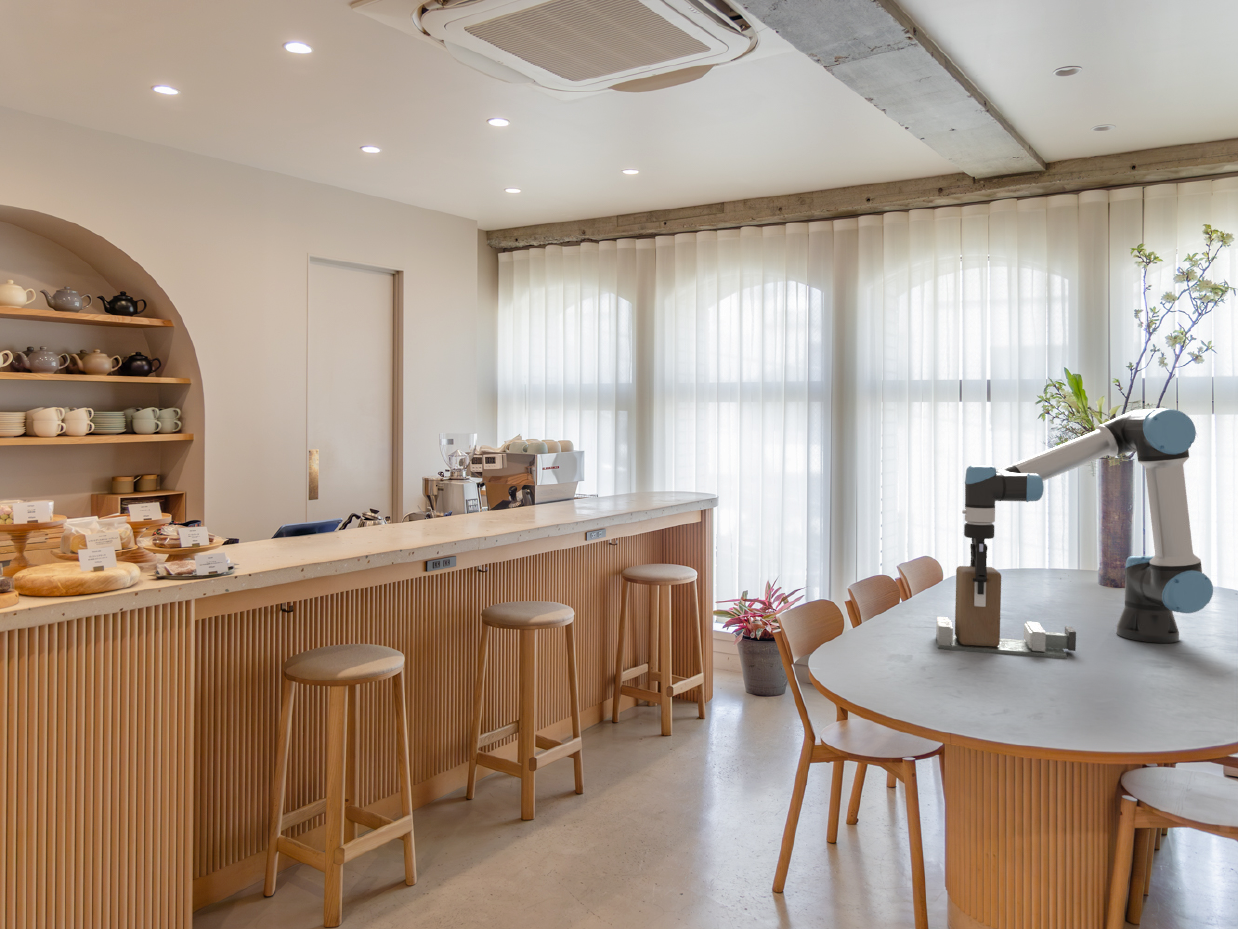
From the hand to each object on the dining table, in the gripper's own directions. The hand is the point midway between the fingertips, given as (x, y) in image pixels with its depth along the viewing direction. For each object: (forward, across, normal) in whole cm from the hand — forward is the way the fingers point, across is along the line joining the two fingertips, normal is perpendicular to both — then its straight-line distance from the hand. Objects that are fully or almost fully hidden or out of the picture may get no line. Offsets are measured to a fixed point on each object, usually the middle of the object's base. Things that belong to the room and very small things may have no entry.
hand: (977, 601), depth 235 cm
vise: (+12, 0, +5) cm, 13 cm away
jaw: (+11, 0, +18) cm, 21 cm away
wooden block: (+11, 0, 0) cm, 11 cm away
